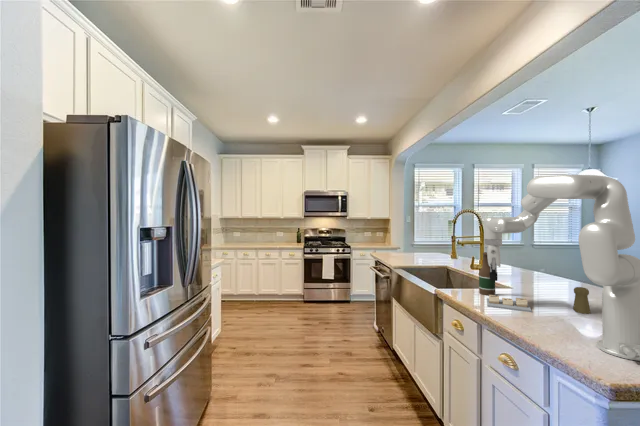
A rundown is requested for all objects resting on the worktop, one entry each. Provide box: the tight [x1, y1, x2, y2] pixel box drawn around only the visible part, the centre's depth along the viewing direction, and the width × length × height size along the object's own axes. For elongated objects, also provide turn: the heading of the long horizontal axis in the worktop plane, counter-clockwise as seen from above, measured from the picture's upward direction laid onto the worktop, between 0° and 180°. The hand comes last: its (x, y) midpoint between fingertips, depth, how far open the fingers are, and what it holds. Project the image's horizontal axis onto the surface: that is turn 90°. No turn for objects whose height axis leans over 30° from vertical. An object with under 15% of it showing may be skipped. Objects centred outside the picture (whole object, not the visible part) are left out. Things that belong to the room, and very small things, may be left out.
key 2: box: [501, 297, 514, 306], centre depth 136 cm, size 4×4×4 cm
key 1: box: [515, 297, 528, 307], centre depth 134 cm, size 4×4×4 cm
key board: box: [486, 297, 533, 313], centre depth 136 cm, size 13×17×2 cm
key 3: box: [488, 294, 500, 304], centre depth 139 cm, size 4×4×4 cm
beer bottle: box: [478, 251, 496, 297], centre depth 156 cm, size 8×8×24 cm
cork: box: [572, 286, 592, 315], centre depth 130 cm, size 6×6×11 cm
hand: (493, 280), depth 139 cm, fingers closed
